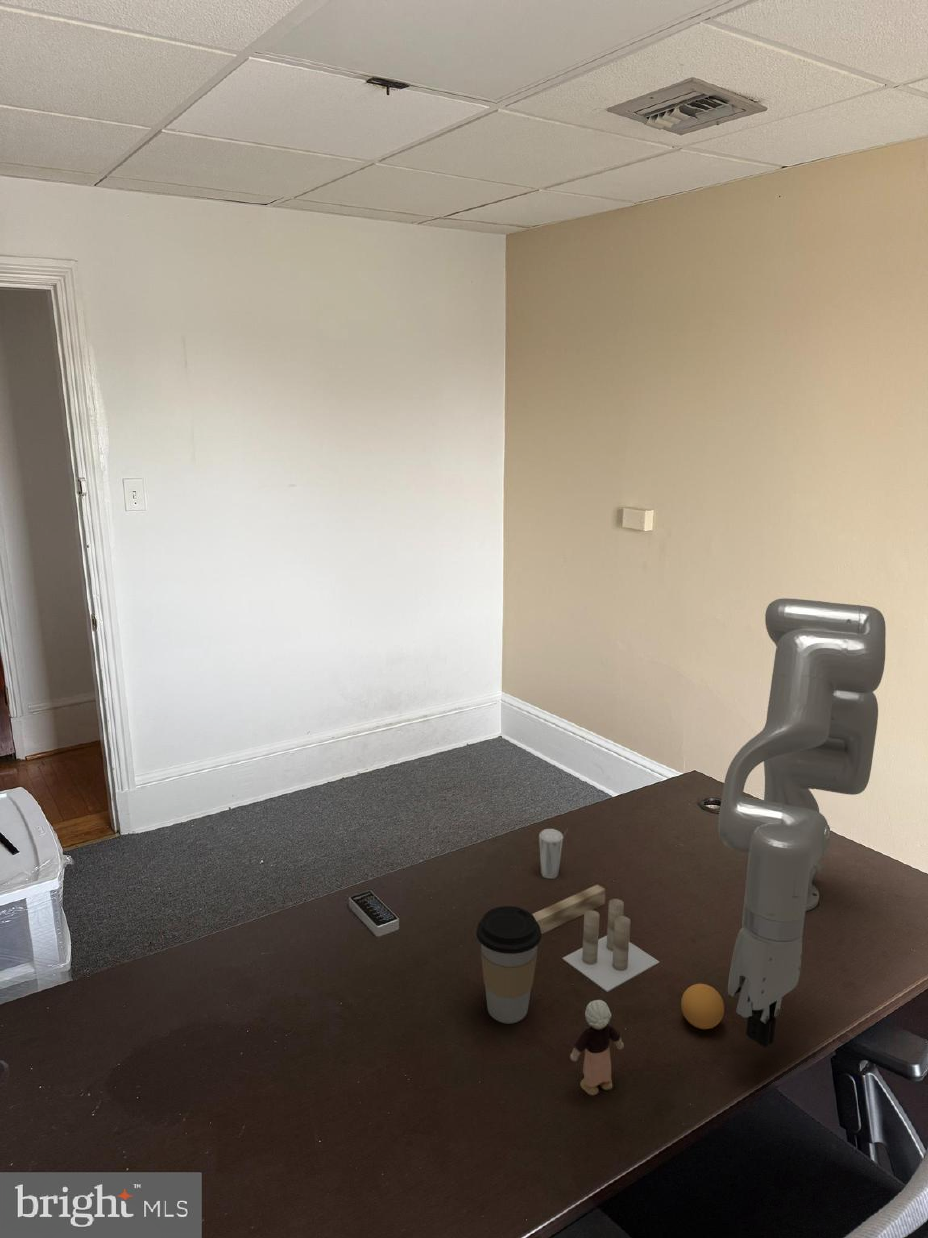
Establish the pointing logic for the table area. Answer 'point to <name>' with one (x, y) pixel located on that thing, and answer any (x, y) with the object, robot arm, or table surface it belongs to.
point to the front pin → (621, 943)
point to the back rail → (570, 908)
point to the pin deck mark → (603, 967)
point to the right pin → (613, 920)
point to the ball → (702, 1006)
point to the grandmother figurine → (596, 1048)
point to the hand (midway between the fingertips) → (759, 1039)
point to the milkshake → (550, 852)
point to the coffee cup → (508, 960)
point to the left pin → (590, 937)
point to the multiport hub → (374, 913)
